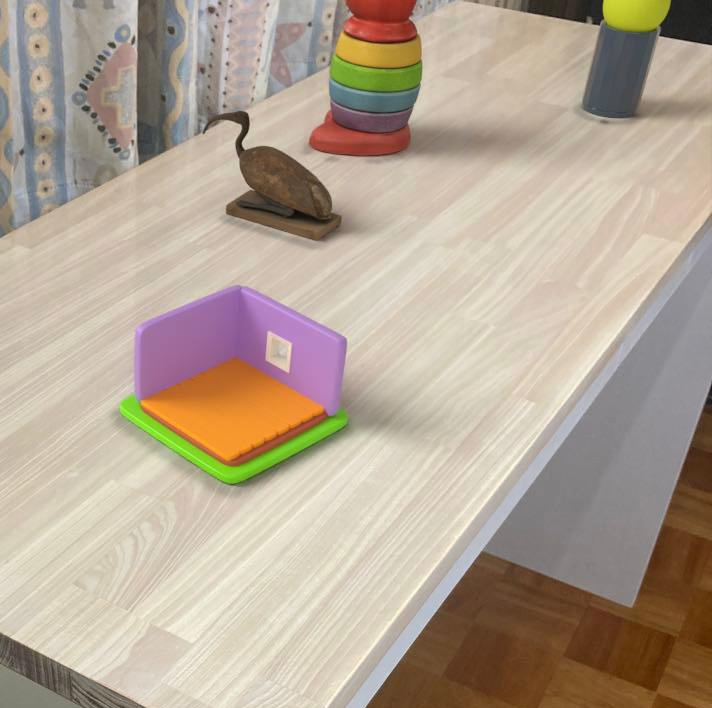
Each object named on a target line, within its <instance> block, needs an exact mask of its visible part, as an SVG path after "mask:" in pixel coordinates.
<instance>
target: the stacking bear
mask: <svg viewBox="0 0 712 708" xmlns="http://www.w3.org/2000/svg"><path fill="white" fill-rule="evenodd" d="M417 2H418V0H344V3H345V5H346V6H347V8H348V10H349V12H350V13H351V14H352V15H351V16H349V18H347V20H346V21H345V22H344V23H343V25H342V30H341V32H340V34H339V37H338V40H337V43H336V46H335V51H334V53H333V55H332V59H331V62H330V67H329V72H328V73H329V77H328V91H329V92H328V93H329V105H330V109H329V110H328V111H327V112H326V114H325V117H324V121H323V123H321V124H320V125H319V126H317V127H315V128H314V129H313V130H312V131H311V134H310V136H309V140H308V145H309V146H311V147H312V148H313V149H315V150H317V151H320V152H324V153H330V154H337V155H349V156H380V155H388V154H394V153H397V152H400V151H403V150H404V149H406V148H407V147H408V146H409V145H410V143H411V130H410V125H409V121H410V118H411V116H412V113H413V110H414V108H415V104H416V102H417V101H418V97H419V94H420V90H421V87H422V83H421V82H422V80H423V59H422V55H423V51H422V49H423V48H422V39H421V35H420V34H419V33H418V29H417V26H416V24H415V23H414V22H413V20H411V19H410V17H411V15H412V13H413V12H414V9H415V7H416V4H417Z"/></svg>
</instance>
